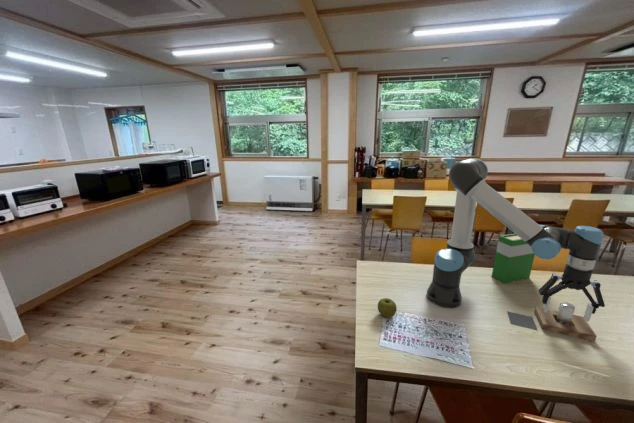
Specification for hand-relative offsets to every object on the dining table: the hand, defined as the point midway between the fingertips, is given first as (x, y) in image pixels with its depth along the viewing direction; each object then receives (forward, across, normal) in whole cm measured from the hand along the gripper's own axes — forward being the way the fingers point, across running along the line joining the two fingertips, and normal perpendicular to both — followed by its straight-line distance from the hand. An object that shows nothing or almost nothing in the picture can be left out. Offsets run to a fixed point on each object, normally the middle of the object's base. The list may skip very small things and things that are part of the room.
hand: (565, 314), depth 109 cm
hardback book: (+6, -12, +37) cm, 39 cm away
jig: (+6, 0, 0) cm, 6 cm away
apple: (+6, -66, -23) cm, 70 cm away
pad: (+6, -14, -3) cm, 15 cm away
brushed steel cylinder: (+6, 0, 0) cm, 6 cm away
